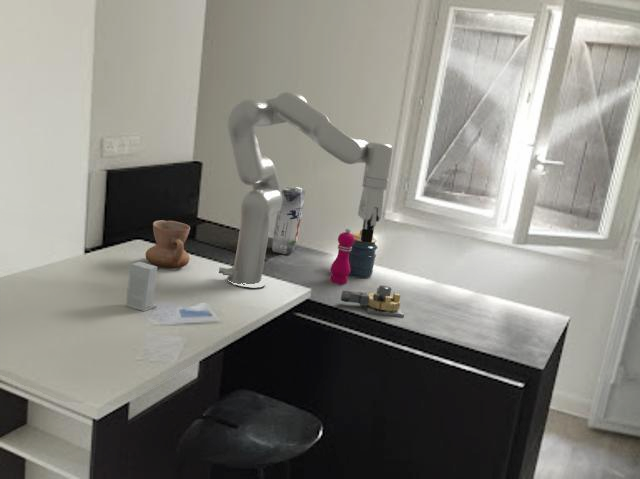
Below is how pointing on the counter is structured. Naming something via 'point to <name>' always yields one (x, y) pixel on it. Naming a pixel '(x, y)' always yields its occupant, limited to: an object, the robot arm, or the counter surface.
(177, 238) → the ceramic jug
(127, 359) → the counter surface
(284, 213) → the juice carton
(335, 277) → the pepper mill
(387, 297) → the yellow mechanical assembly
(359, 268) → the canister
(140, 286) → the skincare box
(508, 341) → the counter surface
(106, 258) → the counter surface
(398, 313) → the grey mounting base
